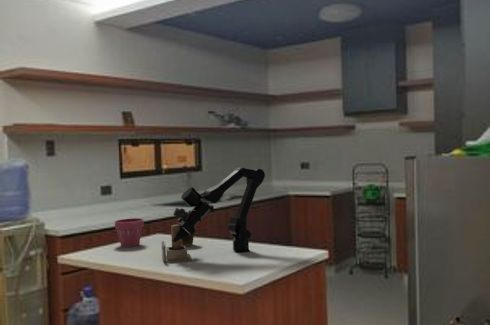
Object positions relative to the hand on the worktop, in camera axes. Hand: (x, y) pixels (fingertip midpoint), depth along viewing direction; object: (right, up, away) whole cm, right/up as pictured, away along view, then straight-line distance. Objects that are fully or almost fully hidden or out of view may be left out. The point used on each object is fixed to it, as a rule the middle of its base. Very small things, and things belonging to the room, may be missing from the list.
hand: (173, 240), depth 208 cm
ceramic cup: (+1, -8, +30) cm, 31 cm away
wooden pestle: (+2, -7, 0) cm, 7 cm away
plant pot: (-27, -8, +36) cm, 46 cm away
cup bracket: (+2, -8, 0) cm, 8 cm away
